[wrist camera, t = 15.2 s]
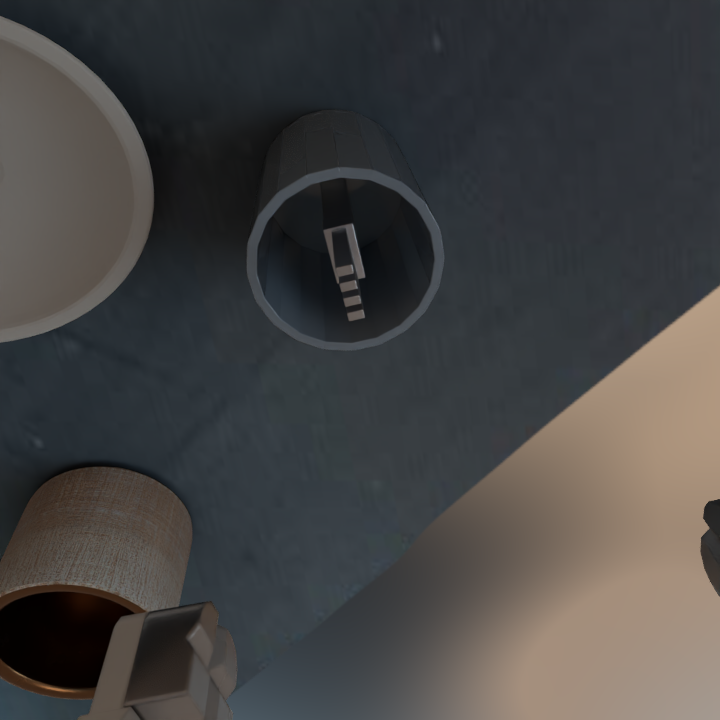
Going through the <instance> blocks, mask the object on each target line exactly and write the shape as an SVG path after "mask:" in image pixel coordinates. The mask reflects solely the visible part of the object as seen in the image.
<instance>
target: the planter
mask: <svg viewBox="0 0 720 720" xmlns="http://www.w3.org/2000/svg"><path fill="white" fill-rule="evenodd" d="M191 543H192V522H191V518H190V515H189V512H188V510H187V508H186V507H185V505H184V504H183V502H182V501H181V500H180V498H179V497H178V496H177V495H176V494H175V493H174V492H173V491H172V490H170V489H169V488H168V487H166V486H165V485H164V484H162V483H160V482H159V481H157V480H155V479H153V478H151V477H149V476H147V475H144V474H142V473H139V472H136V471H132V470H128V469H124V468H118V467H109V466H92V467H83V468H77V469H73V470H69V471H66V472H64V473H61V474H59V475H57V476H55V477H53V478H51V479H50V480H48V481H47V482H45V483H44V484H43V485H42V486H41V487H40V488H39V489H38V490H37V491H36V492H35V493H34V495H33V496H32V498H31V499H30V500H29V502H28V504H27V506H26V508H25V510H24V512H23V514H22V516H21V518H20V521H19V523H18V525H17V527H16V529H15V531H14V533H13V536H12V538H11V540H10V542H9V544H8V546H7V549H6V551H5V553H4V555H3V557H2V559H1V562H0V678H2V679H3V680H5V681H7V682H8V683H10V684H13V685H15V686H17V687H19V688H22V689H24V690H27V691H30V692H33V693H37V694H41V695H45V696H50V697H56V698H63V699H93V698H94V694H95V691H96V687H97V684H98V681H99V677H100V674H101V670H102V667H103V663H104V660H105V657H106V653H107V650H108V646H109V643H110V639H111V636H112V632H113V629H114V626H115V625H116V623H117V622H118V620H119V619H120V618H121V617H122V616H128V615H133V614H138V613H144V612H149V611H155V610H160V609H166V608H172V607H178V606H179V602H180V597H181V592H182V587H183V582H184V578H185V573H186V568H187V563H188V558H189V554H190V549H191Z"/></svg>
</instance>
